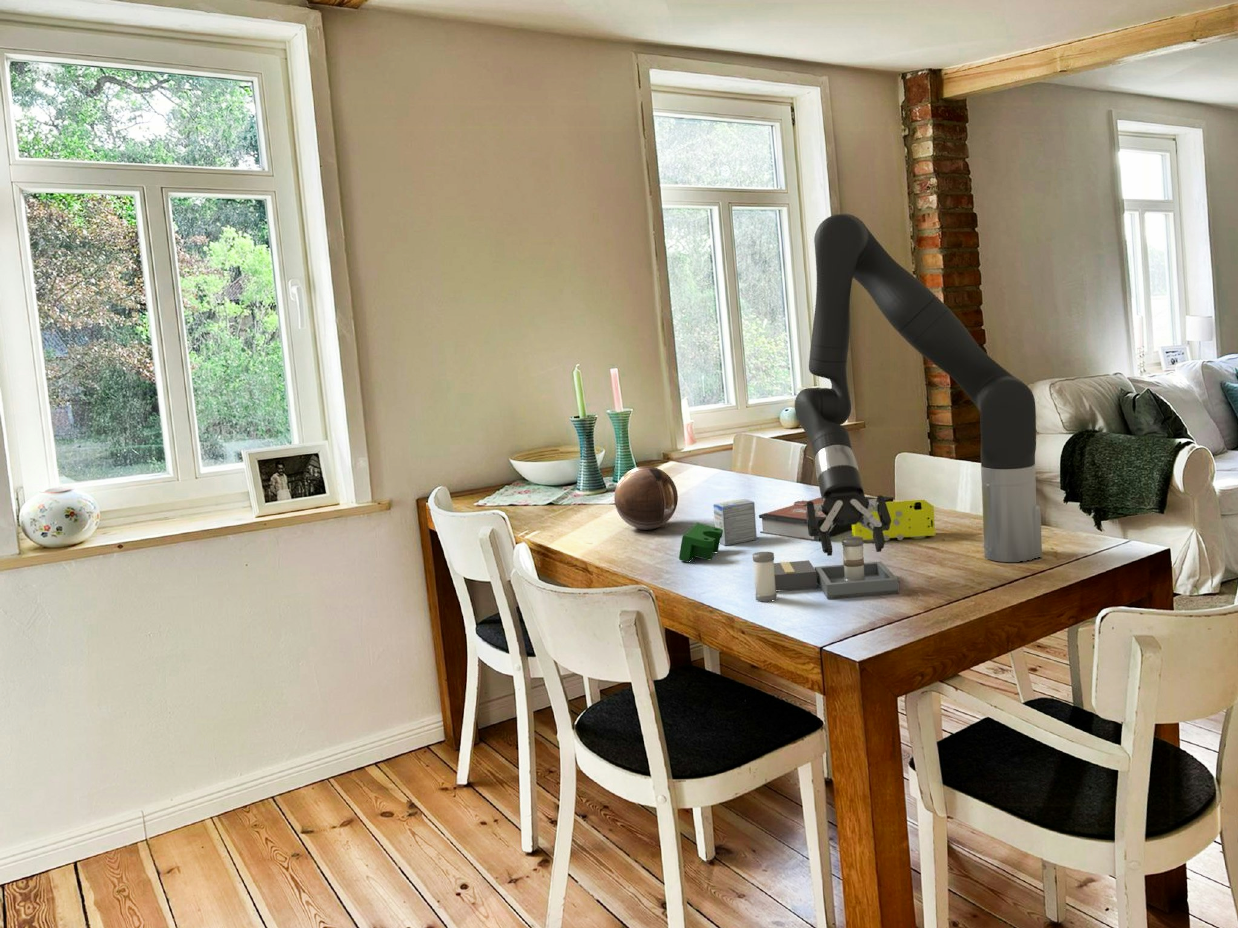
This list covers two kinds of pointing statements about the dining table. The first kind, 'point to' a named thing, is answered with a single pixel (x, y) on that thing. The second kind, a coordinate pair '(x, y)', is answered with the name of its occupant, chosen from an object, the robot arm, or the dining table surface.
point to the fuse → (764, 576)
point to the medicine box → (736, 521)
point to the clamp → (700, 542)
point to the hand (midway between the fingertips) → (855, 551)
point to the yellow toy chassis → (903, 521)
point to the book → (799, 521)
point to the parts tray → (875, 581)
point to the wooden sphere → (646, 497)
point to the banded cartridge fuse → (853, 558)
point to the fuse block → (795, 575)
